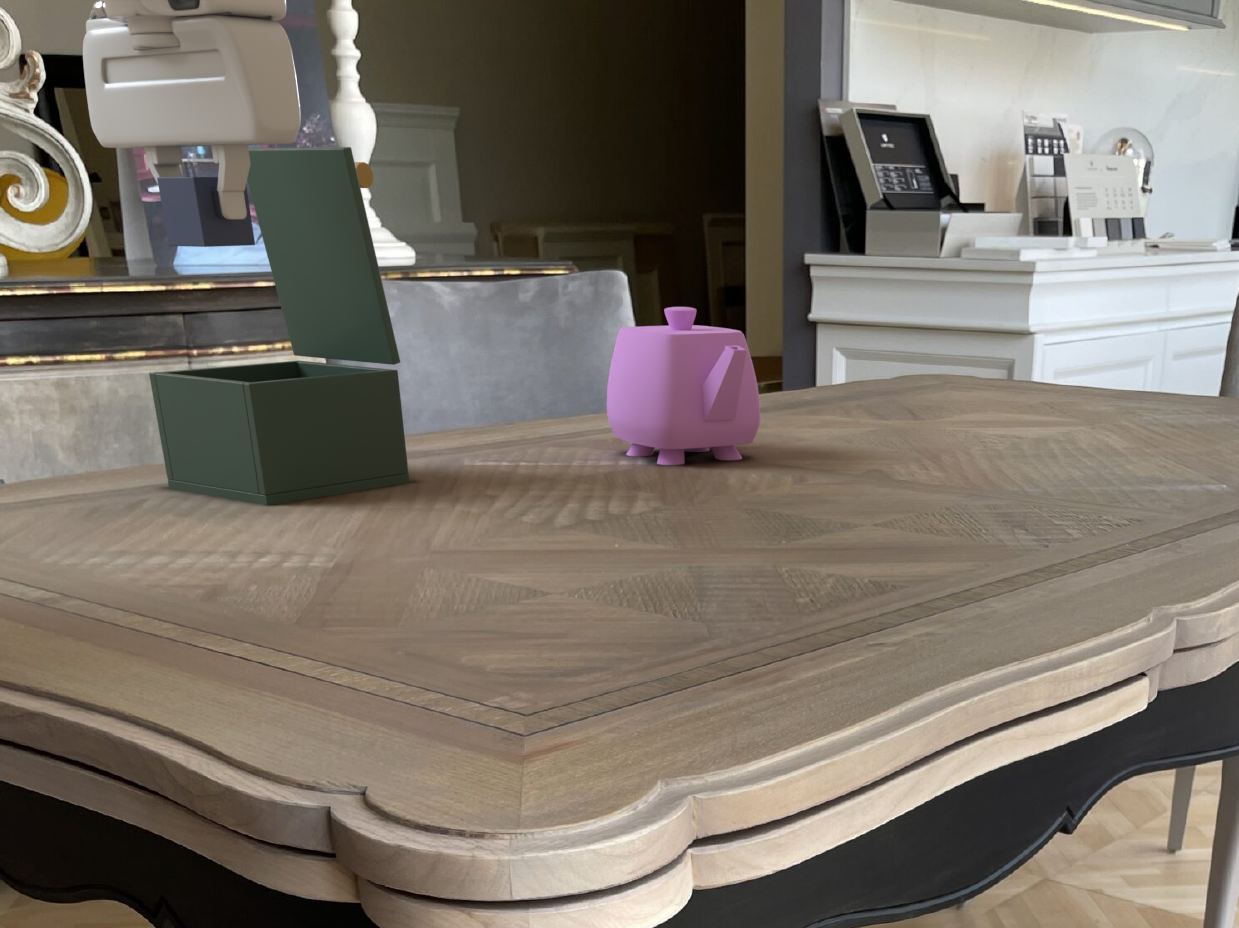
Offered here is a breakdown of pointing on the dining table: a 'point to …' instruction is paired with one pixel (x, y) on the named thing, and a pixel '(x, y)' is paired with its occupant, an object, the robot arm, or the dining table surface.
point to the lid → (322, 252)
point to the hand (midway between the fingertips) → (207, 219)
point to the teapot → (682, 389)
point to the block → (200, 214)
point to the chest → (280, 430)
